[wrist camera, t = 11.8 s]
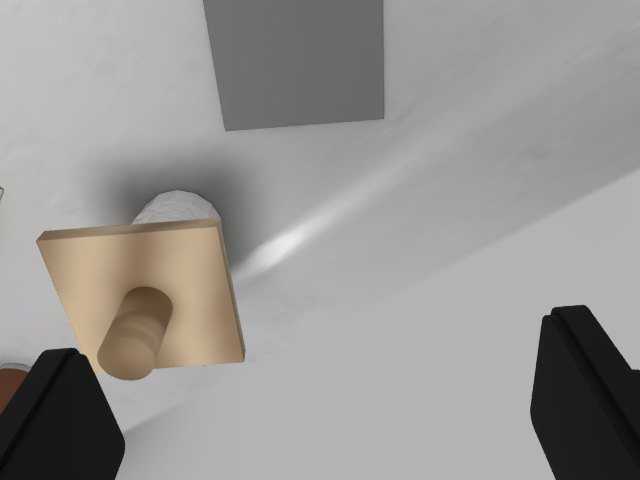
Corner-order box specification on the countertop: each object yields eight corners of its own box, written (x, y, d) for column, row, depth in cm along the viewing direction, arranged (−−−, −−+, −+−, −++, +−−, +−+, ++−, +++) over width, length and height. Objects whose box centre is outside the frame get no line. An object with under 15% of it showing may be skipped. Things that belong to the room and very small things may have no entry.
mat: (381, -66, 34) (382, -66, 33) (383, 117, 40) (383, 118, 39) (195, -50, 34) (194, -50, 33) (226, 129, 40) (225, 131, 40)
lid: (219, 217, 32) (202, 273, 27) (245, 350, 38) (235, 418, 33) (44, 231, 33) (-7, 289, 27) (95, 361, 38) (62, 431, 33)
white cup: (211, 276, 47) (190, 354, 38) (124, 245, 45) (81, 320, 36) (243, 204, 43) (228, 272, 35) (149, 167, 41) (109, 230, 33)
